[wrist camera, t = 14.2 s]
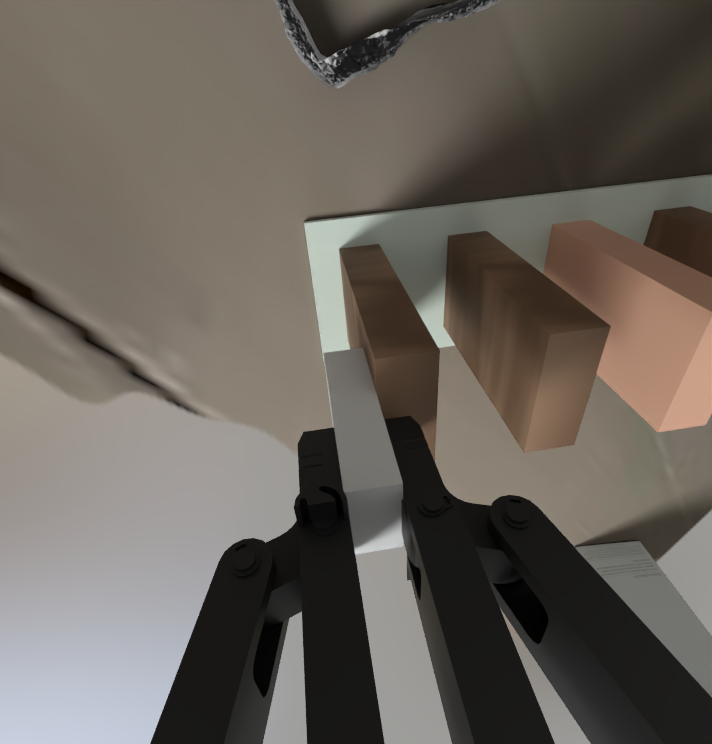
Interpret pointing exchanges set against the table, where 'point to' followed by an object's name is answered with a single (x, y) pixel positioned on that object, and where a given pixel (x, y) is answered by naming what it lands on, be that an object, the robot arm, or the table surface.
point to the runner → (499, 217)
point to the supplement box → (655, 603)
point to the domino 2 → (522, 339)
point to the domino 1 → (390, 338)
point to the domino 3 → (641, 320)
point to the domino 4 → (683, 236)
